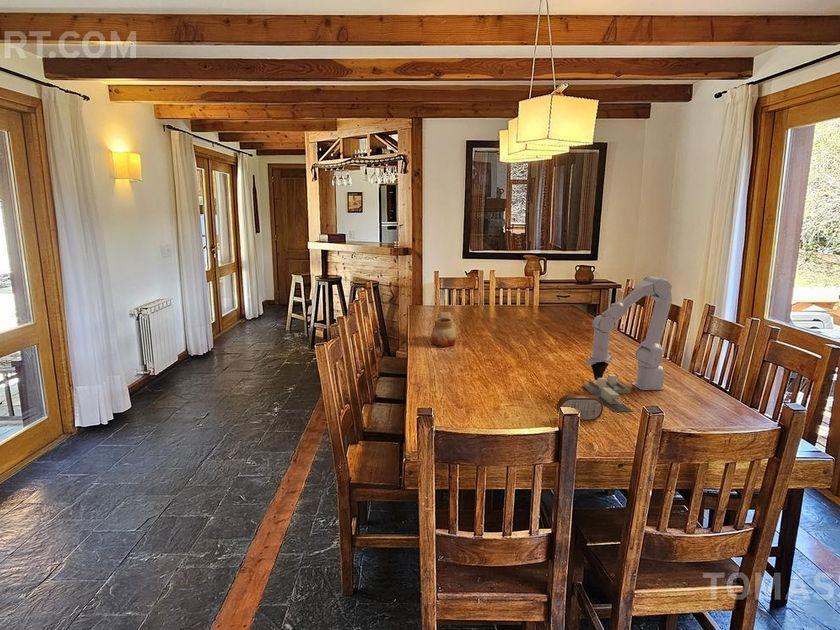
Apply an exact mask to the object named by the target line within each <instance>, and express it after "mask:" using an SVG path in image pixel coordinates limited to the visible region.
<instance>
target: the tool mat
mask: <svg viewBox="0 0 840 630" xmlns="http://www.w3.org/2000/svg"><path fill="white" fill-rule="evenodd" d="M592 395H594V396H596V397H598V398H599V400H600V401H601V402H602V404H603V405H604V406H606V407H607V408H608V409H609V410H610V411H612V412H613V413H633V412H634V411H633V409H631V408H630V407H628V406H627V405H626V404H625V403H623V402H622V401H620V402H621V403H622V406H620V405H619V404H609V403H608V402H607V401H606V400H605V399H603V398H602V397H601V394H592Z"/></svg>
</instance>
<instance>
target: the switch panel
mask: <svg viewBox="0 0 840 630" xmlns="http://www.w3.org/2000/svg"><path fill="white" fill-rule="evenodd" d="M616 383H617V385H611V384H610V383H608V382H607V380H606V386H607V387H606V388H611V389H612V390H613V391H615V392H616V393H617V394H631V388H629V387H628V386H626V385H625V384H623V383H622V382H620V381H617V380H616ZM582 387H583V388H585V389H586V390H587V391H588V392H589V393H590V394H591V395H593V394H601V389H599V386H597V381H596V382H594V381H592V380H588V381H587V382H583V383H582Z"/></svg>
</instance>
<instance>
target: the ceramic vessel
mask: <svg viewBox="0 0 840 630" xmlns="http://www.w3.org/2000/svg"><path fill="white" fill-rule="evenodd" d="M430 336H431V337H430V341H431V344H432V345H433V346H435V347H438V348H448V347H454V346H455V345H456V341H457V339H458V327H457V324H456V323H455V321H454V319H453V316H452V312H449V311H440V312H438V315H437V318H435V319H434V325H433V327H432V331H431V334H430Z"/></svg>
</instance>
